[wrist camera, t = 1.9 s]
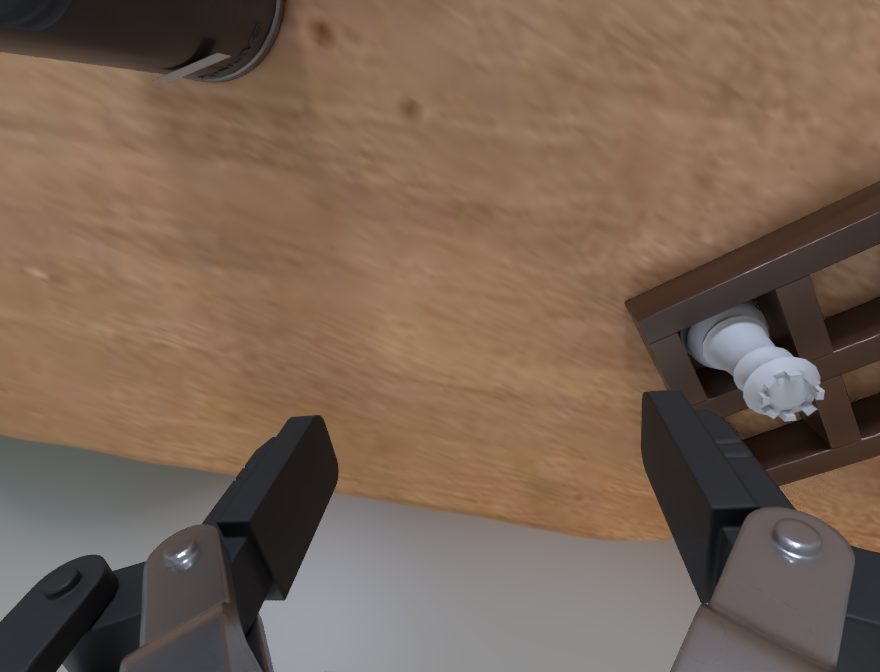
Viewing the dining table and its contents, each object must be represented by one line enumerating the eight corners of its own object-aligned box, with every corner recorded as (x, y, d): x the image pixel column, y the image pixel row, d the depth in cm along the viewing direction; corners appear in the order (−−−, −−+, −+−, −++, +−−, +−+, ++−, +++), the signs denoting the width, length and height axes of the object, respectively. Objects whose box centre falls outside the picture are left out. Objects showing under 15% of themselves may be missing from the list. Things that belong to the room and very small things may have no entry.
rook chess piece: (771, 327, 27) (869, 401, 20) (703, 371, 29) (772, 454, 22) (729, 276, 26) (816, 335, 19) (661, 324, 28) (718, 395, 21)
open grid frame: (624, 302, 28) (637, 321, 25) (1074, 89, 21) (1159, 84, 18) (706, 471, 32) (725, 503, 30) (1096, 341, 26) (1167, 367, 23)
